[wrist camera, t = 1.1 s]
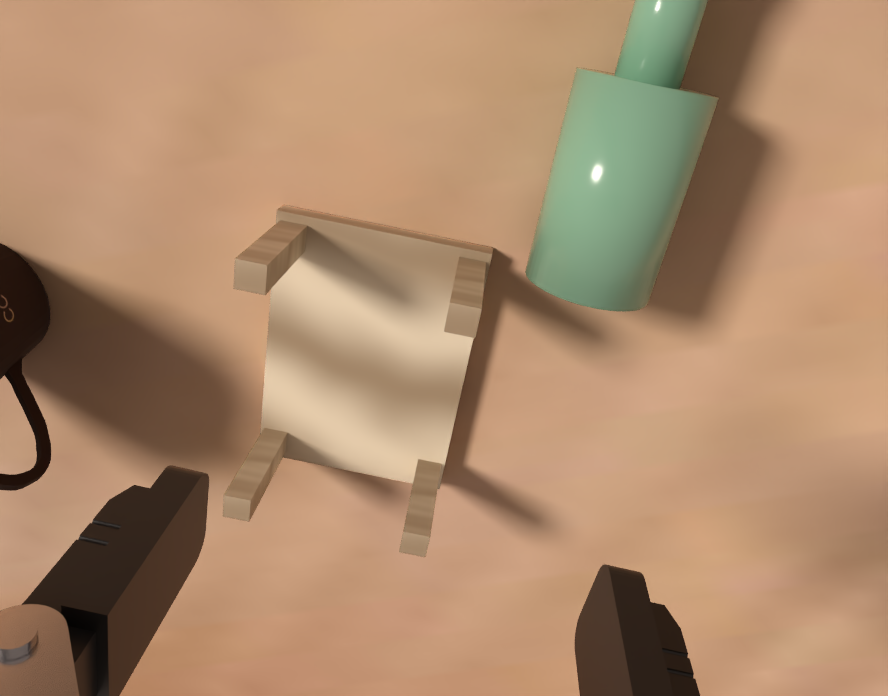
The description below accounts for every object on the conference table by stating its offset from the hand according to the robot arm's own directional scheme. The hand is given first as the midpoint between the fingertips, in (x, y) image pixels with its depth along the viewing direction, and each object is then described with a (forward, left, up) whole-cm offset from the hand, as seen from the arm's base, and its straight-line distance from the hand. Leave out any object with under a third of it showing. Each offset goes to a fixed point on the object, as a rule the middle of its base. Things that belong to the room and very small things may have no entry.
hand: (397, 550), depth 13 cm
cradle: (+6, -3, -19) cm, 20 cm away
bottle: (-7, +5, -19) cm, 21 cm away
